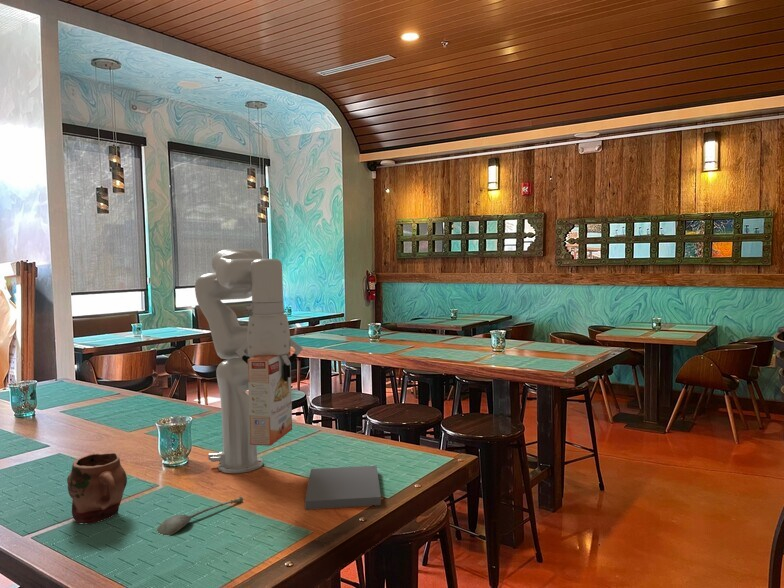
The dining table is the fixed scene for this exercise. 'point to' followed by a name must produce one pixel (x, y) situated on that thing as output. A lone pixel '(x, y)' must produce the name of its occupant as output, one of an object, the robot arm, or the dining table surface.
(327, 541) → the dining table surface
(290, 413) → the cracker box
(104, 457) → the decorative planter
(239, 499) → the soupspoon
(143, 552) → the dining table surface
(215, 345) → the robot arm
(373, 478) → the serving board
